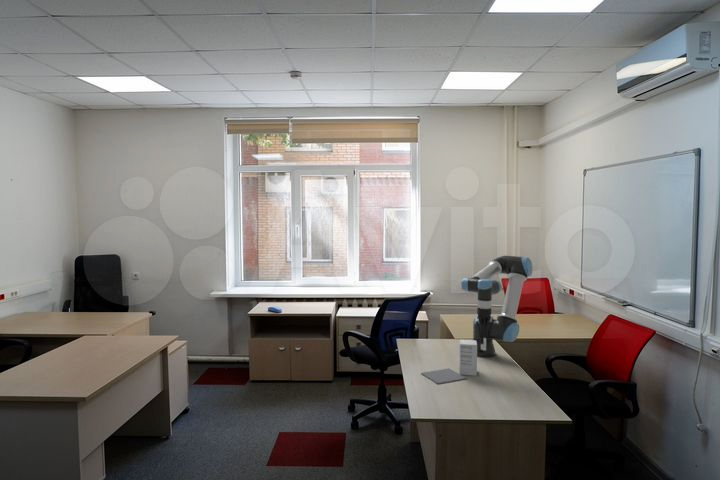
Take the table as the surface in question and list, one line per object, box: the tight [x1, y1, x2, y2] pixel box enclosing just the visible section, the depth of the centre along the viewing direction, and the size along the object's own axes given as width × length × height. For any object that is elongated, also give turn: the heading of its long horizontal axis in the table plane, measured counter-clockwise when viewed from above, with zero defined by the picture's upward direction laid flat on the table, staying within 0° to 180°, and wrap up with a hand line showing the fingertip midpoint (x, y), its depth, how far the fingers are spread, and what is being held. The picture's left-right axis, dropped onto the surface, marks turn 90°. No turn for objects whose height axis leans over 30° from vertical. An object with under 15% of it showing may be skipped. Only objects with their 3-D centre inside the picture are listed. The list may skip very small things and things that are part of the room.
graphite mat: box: [420, 368, 467, 385], centre depth 250 cm, size 18×16×1 cm
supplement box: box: [458, 339, 478, 376], centre depth 256 cm, size 10×9×17 cm
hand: (483, 349), depth 259 cm, fingers closed
